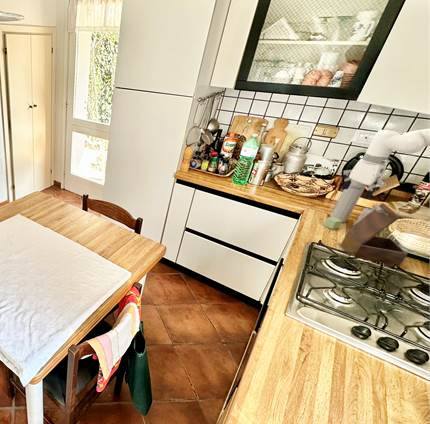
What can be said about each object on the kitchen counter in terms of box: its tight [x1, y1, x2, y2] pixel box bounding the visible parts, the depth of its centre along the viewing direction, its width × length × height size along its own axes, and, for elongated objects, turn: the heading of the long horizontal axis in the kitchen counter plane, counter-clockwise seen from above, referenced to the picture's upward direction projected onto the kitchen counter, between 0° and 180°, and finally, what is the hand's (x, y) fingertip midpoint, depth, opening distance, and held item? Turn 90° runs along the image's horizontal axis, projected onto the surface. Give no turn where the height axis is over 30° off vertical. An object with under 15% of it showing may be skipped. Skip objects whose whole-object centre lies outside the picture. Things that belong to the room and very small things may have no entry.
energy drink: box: [354, 207, 374, 225], centre depth 153 cm, size 5×5×12 cm
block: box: [323, 216, 343, 230], centre depth 158 cm, size 4×4×4 cm
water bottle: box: [329, 180, 367, 223], centre depth 160 cm, size 9×8×25 cm
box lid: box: [348, 202, 401, 245], centre depth 130 cm, size 16×13×5 cm
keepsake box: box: [340, 230, 408, 269], centre depth 135 cm, size 16×13×8 cm
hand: (355, 193), depth 144 cm, fingers open, 9 cm apart
